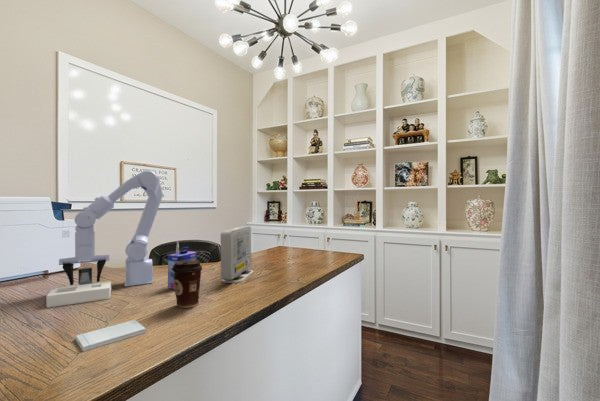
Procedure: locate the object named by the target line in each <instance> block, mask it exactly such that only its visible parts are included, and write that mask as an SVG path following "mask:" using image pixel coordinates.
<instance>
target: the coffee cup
mask: <svg viewBox="0 0 600 401" xmlns="http://www.w3.org/2000/svg"><path fill="white" fill-rule="evenodd" d="M171 270H173V271H174V287H175V289H174V294H175V300H176V306H177V307H179V308H184V309H187V308H194V307H196V306H198V305H199V303H200V301H199V299H200V292H201V291H200V288H201V276H202V275H201V274H202V270H203V266H202V265H201V262H200V261H190V260H186V261H178V262H176V263H175V264H174V266H173V268H172V269H171Z"/></svg>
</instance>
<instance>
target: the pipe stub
mask: <svg viewBox="0 0 600 401" xmlns="http://www.w3.org/2000/svg"><path fill="white" fill-rule="evenodd" d="M77 271H78V274H77V275H78V285H83V284H91V283H93V267H90V266H89V267H88V266H87V267H81V268H79V269H78V270H77Z"/></svg>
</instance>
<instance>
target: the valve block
mask: <svg viewBox="0 0 600 401" xmlns="http://www.w3.org/2000/svg"><path fill="white" fill-rule="evenodd" d="M111 293H112V281H111V280H110V281H101V282H100V281H99V282H92V283H91V284H83V285H79V284H77V285H69V286H61V287H53V288H52V289H51V291H50V292H49V293H48V294H47V295H46V309H47V308H54V307H61V306H68V305H74V304H82V303H90V302H96V301H101V300H109V299H111V298H110V297H111V295H112V294H111Z"/></svg>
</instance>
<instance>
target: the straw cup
mask: <svg viewBox="0 0 600 401" xmlns="http://www.w3.org/2000/svg"><path fill="white" fill-rule="evenodd" d="M189 249H190V246H185V247H182V248H181V250H179V253H176V252H175V253H172V254H168V255H167V288H168V289H173V290H175V287H174V271H173V270H171V269H172V268H173V266H174V264H175V263H176V262H178V261H186V260H190V261H197V260H198V258H197V257H198V253H197V252H196V251H189Z"/></svg>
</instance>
